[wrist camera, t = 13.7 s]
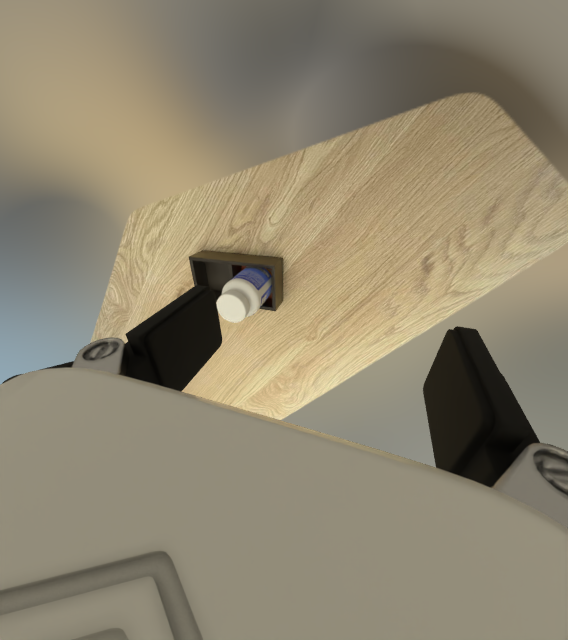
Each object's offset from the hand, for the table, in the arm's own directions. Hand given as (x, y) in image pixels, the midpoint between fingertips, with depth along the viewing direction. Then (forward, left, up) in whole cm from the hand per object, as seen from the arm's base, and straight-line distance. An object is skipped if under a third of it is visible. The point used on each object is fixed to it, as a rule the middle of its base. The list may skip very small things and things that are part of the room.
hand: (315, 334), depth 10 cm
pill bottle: (+9, -13, -25) cm, 30 cm away
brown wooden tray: (+9, -17, -26) cm, 32 cm away
